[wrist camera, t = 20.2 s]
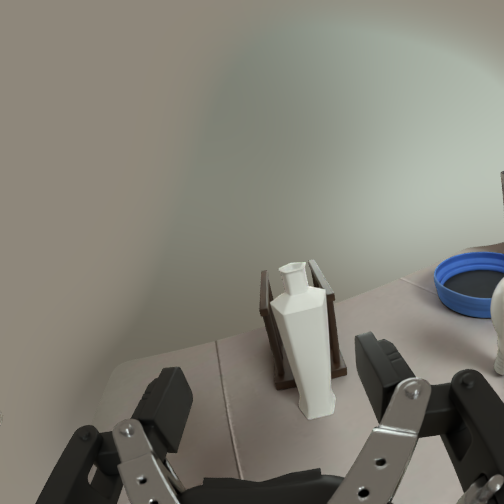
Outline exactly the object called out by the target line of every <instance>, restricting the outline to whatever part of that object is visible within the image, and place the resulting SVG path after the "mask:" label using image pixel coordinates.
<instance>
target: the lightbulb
mask: <svg viewBox="0 0 504 504" xmlns="http://www.w3.org/2000/svg"><path fill="white" fill-rule="evenodd" d="M490 313H491V319H492V323H493V326H494V328H495V330H496V332H497V336H498V340H497V344H498V353H497V356H496V360H495V363H494V369H495V371H496V372H497V373H498V374H501V375H504V277H503V278H502V279H501V280H500V282H499V283H498V285H497V286H496V288H495V290H494V292H493V295H492V299H491V306H490Z"/></svg>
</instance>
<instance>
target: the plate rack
mask: <svg viewBox="0 0 504 504" xmlns="http://www.w3.org/2000/svg"><path fill="white" fill-rule="evenodd" d="M308 263H309V267H310V269H311V273H312V278H313V284H314V287H316V288H321V289H325V290H326V302H327V314H328V328H329V344H330V365H331V379H333V378H337V377H341V376H345V375H347V367H346V365H345V362H344V360H343V357H342V355H341V352H340V350H339V343H338V335H337V327H336V319H335V312H334V305H333V301H335V295H334V292H333V291H332V289H331V287H330V286H329V284H328V282H327V280H326V279H325V277H324V276H323V274H322V272H321V270H320V269H319V267H318V266H317V264H316V263H315V261H314V260H309V261H308ZM271 301H273V296H272V291H271V288H270V283H269V279H268V272H267V270H265V271H262V272H261V290H260V308H259V309H260V310H259V311H260V314H261V316H262V317H263V319H264V322H265V327H266V331H267V334H268V338H269V342H270V346H271V350H272V353H273V357H274V372H275V385H276V389H277V390H281V389H286V388H292V387H297V385H296V382H295V379H294V376H293V373H292V369H291V366H290V363H289V360H288V357H287V354H286V351H285V348H284V345H283V342H282V338H281V335H280V332H279V329H278V326H277V323H276V320H275V317H274V314H273V310H272V307H271V304H270V302H271Z"/></svg>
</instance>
